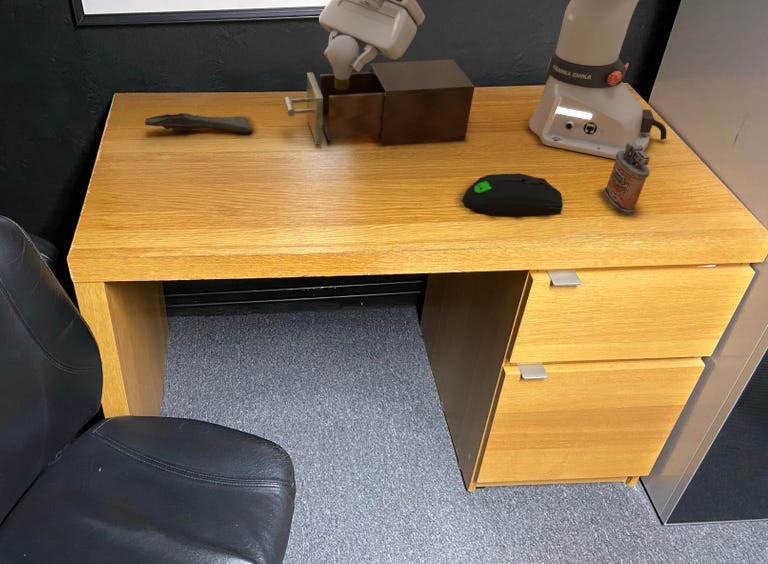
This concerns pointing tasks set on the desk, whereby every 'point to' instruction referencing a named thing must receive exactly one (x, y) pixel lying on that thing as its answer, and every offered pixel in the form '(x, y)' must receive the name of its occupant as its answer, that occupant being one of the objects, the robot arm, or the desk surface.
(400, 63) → the cabinet
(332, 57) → the light bulb
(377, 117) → the drawer
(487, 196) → the computer mouse
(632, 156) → the lighter
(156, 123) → the tool
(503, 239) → the desk surface
